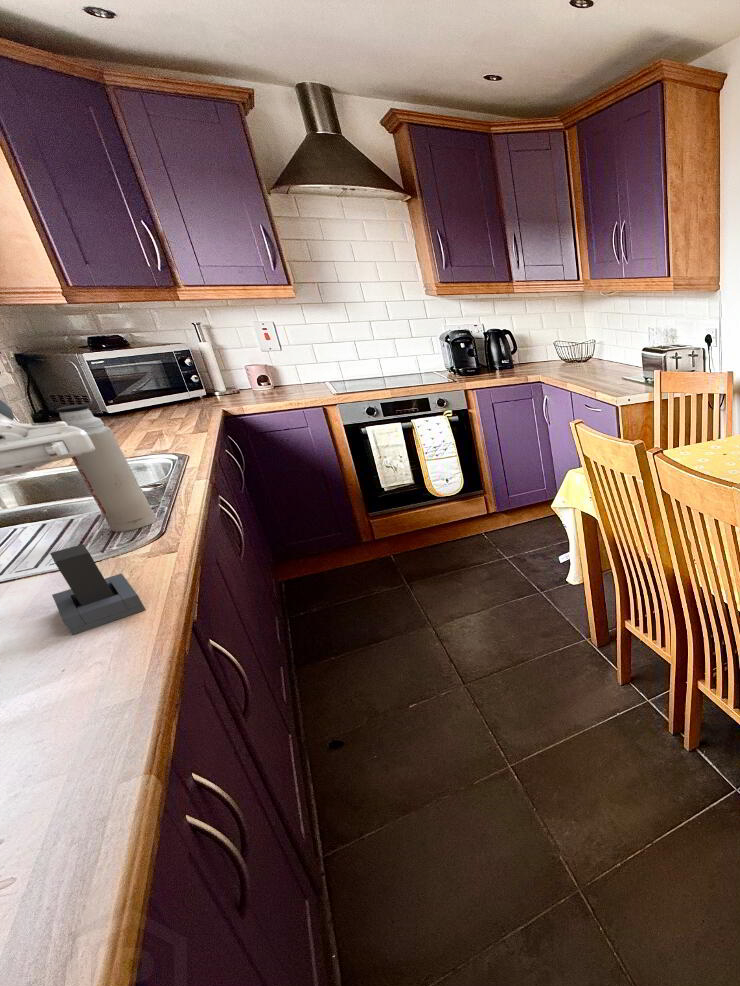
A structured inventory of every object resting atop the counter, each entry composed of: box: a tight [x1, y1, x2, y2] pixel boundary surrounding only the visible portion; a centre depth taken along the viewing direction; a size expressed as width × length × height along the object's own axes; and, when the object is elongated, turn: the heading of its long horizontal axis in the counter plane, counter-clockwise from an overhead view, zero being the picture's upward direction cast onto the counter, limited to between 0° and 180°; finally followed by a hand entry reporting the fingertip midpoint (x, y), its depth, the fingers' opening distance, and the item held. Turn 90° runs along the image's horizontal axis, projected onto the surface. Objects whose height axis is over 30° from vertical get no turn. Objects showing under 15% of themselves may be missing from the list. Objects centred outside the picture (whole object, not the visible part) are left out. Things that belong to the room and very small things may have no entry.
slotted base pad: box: [51, 573, 146, 636], centre depth 99 cm, size 14×9×3 cm, turn 52°
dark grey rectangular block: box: [49, 543, 114, 606], centre depth 97 cm, size 6×4×10 cm, turn 52°
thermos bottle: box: [56, 403, 157, 533], centre depth 131 cm, size 8×8×28 cm
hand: (13, 460), depth 96 cm, fingers open, 8 cm apart
